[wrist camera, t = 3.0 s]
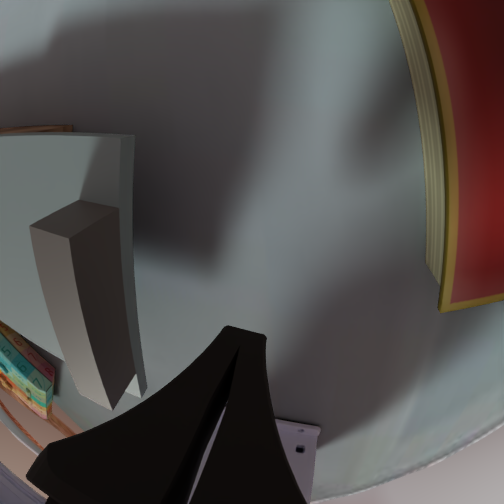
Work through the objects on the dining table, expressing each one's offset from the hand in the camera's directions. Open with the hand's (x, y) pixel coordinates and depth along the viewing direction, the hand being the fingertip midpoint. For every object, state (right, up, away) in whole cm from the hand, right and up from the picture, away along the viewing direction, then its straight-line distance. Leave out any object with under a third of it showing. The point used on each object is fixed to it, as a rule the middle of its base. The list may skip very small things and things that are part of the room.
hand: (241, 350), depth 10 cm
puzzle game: (-31, -7, +17) cm, 36 cm away
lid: (-10, +3, +2) cm, 11 cm away
